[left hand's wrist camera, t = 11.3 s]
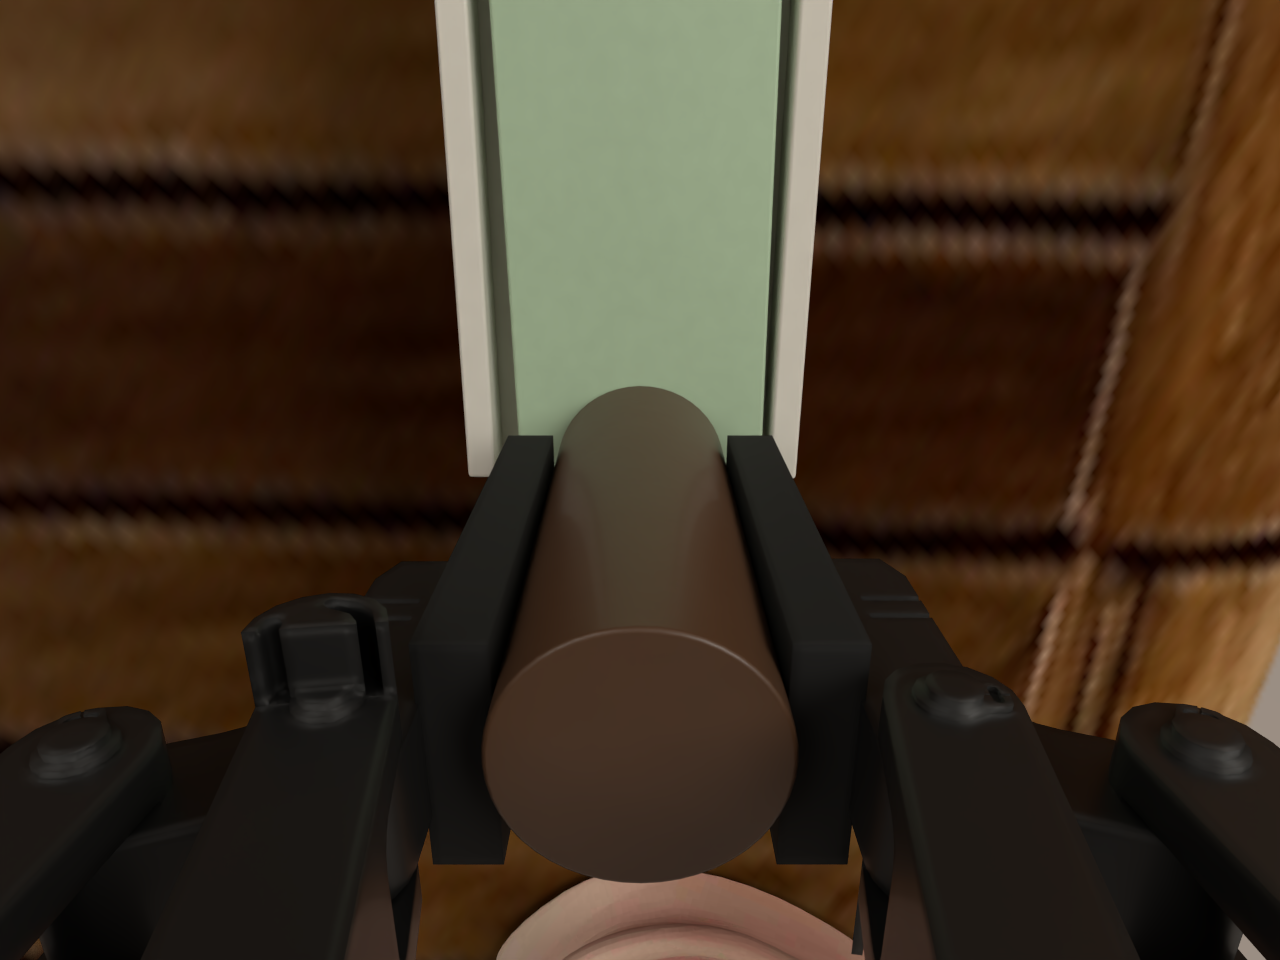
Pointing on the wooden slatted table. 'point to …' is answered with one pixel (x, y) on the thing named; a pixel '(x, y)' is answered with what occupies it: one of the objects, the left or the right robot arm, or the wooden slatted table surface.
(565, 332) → the sliding lid
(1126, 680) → the wooden slatted table surface
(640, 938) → the anatomical model
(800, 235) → the pencil box
